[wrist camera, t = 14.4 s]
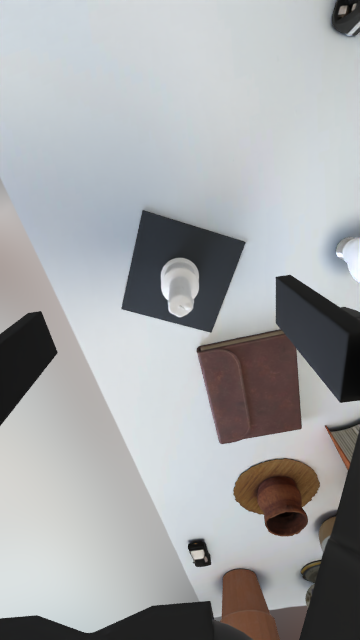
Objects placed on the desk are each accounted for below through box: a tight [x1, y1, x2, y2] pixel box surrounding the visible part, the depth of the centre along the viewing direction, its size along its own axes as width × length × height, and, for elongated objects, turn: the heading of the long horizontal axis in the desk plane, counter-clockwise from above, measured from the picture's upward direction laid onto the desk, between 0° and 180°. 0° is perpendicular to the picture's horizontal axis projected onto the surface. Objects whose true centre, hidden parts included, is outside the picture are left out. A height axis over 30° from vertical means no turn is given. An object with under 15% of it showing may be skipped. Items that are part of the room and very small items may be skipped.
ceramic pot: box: [233, 458, 320, 536], centre depth 53 cm, size 18×18×7 cm
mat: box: [122, 211, 245, 332], centre depth 37 cm, size 14×14×1 cm
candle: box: [161, 258, 199, 317], centre depth 32 cm, size 5×5×12 cm
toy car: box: [188, 542, 211, 567], centre depth 64 cm, size 10×4×3 cm, turn 14°
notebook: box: [197, 330, 302, 444], centre depth 44 cm, size 15×20×2 cm
